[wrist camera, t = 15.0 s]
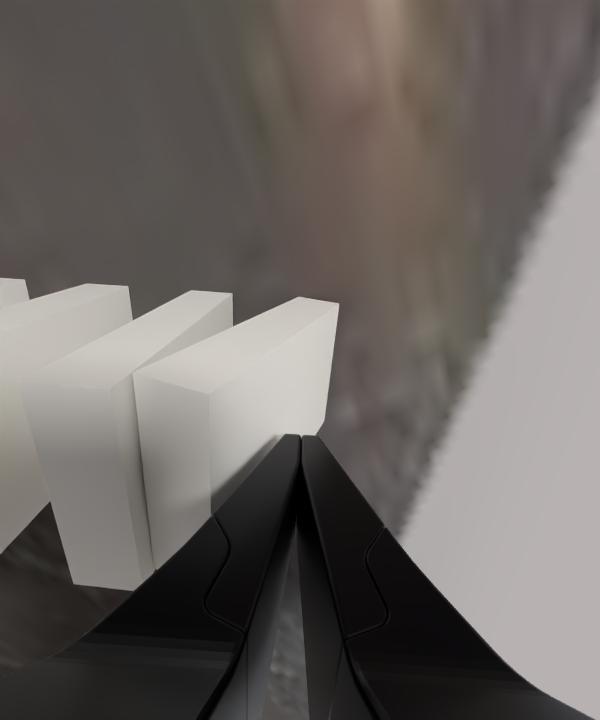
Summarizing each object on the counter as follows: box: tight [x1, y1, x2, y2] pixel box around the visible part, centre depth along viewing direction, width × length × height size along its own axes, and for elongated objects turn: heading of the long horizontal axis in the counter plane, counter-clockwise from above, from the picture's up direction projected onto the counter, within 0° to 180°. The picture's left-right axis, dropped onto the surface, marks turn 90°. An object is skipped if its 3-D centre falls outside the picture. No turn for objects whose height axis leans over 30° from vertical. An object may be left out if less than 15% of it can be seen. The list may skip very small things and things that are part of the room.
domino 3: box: [132, 297, 339, 570], centre depth 10 cm, size 2×5×8 cm, turn 175°
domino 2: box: [17, 290, 233, 591], centre depth 10 cm, size 2×5×8 cm, turn 176°
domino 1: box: [0, 284, 133, 554], centre depth 10 cm, size 2×5×8 cm, turn 177°
